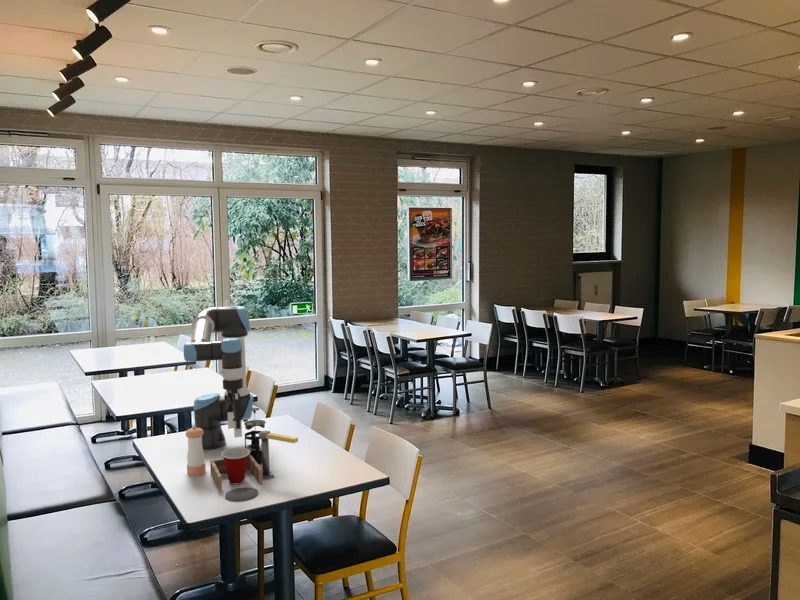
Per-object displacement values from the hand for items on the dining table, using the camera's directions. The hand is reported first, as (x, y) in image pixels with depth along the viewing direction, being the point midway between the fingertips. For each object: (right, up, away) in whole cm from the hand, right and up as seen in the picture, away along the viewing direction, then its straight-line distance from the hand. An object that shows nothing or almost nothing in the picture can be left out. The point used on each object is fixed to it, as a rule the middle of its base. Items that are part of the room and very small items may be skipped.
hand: (234, 432), depth 252 cm
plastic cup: (0, -20, +2) cm, 20 cm away
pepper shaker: (-19, -19, +13) cm, 30 cm away
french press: (+3, -18, +26) cm, 32 cm away
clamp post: (+11, -19, +7) cm, 23 cm away
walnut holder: (0, -19, +3) cm, 20 cm away
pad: (+6, -21, -12) cm, 25 cm away
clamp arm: (+16, -3, +2) cm, 17 cm away
